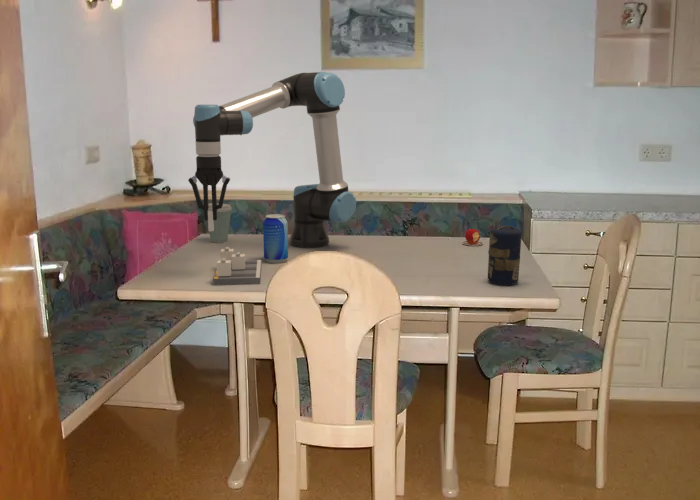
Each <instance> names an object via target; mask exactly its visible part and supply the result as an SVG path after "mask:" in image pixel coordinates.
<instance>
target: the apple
mask: <svg viewBox="0 0 700 500" xmlns="http://www.w3.org/2000/svg"><path fill="white" fill-rule="evenodd" d="M464 237H465V241H462V242H461V244H463V245H464V246H469V247H477V246H481V245H484V243H483V242H482V241H480V239H481V233H480V231H479V230H478V229H476V228H469V229H467V230H466V231H465V235H464Z"/></svg>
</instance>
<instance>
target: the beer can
mask: <svg viewBox="0 0 700 500" xmlns="http://www.w3.org/2000/svg"><path fill="white" fill-rule="evenodd" d="M262 227H263V228H262V232H263V259H264V260H265V262H266V263H269V264H283V263H286V262H287V260H288V258H289V235H288V234H289V232H288V231H289V230H288V229H289V227H288V220H287V219H286V216H285V214H282V213H281V214H278V213H273V214H267V215H265V218H264V220H263V222H262Z"/></svg>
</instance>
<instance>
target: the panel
mask: <svg viewBox="0 0 700 500" xmlns="http://www.w3.org/2000/svg"><path fill="white" fill-rule="evenodd" d="M232 254H235V249H234V248H230V246H225V248H221V250H220V260H217V262H216V269H215V270H216V271H215V274H214V277H213V285H214V286H232V285H233V286H234V285H236V286H239V285H242V286H243V285H244V286H245V285H260V284H261V278H262V276H261V275H262V259H257V260H256V259H255V260H254V259H251V260H249V259H248V260H247V259H245V269H238V270H232Z"/></svg>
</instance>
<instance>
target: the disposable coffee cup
mask: <svg viewBox="0 0 700 500" xmlns="http://www.w3.org/2000/svg"><path fill="white" fill-rule="evenodd" d="M218 204H219V202H217V205H218ZM208 206H209V208H208V210H212V202H211V203H208ZM232 210H233V208H232V206H231V204H228V203H223V206H222V208H220V209H217V220H214V231H208V232H209V233H208V234H209V239H210V241H211V242H212V243H216V244H217V243H218V244H219V243H226V242H228V239H229V231H230V225H231V224H230V223H231V217H232V215H231V214H232ZM206 221H207V223H208V220H206Z"/></svg>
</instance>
